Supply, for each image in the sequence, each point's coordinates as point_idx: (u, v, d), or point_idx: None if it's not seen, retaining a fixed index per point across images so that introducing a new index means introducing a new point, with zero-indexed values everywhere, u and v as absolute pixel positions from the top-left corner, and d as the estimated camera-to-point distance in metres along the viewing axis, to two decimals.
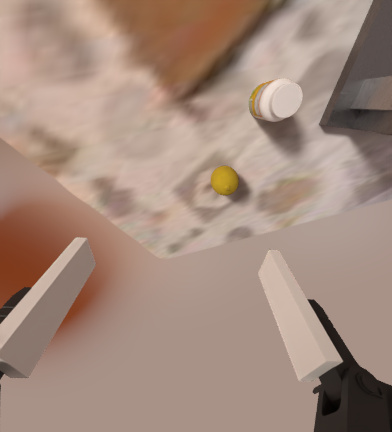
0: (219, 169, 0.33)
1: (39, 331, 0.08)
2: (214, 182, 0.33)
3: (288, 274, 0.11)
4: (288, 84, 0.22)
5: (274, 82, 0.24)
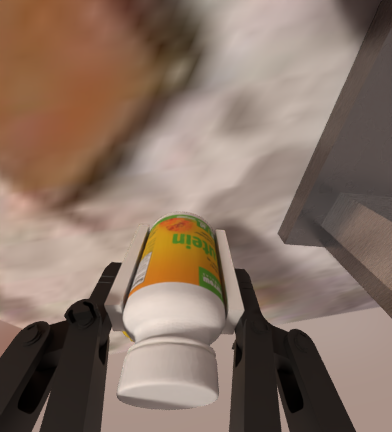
0: None
1: None
2: None
3: (225, 248, 0.12)
4: (151, 386, 0.06)
5: (141, 304, 0.08)
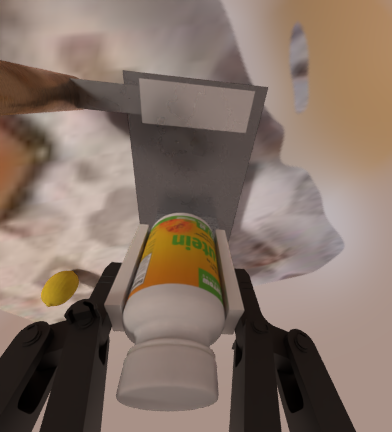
0: (48, 281, 0.34)
1: None
2: None
3: (225, 248, 0.12)
4: (151, 388, 0.06)
5: (141, 306, 0.08)
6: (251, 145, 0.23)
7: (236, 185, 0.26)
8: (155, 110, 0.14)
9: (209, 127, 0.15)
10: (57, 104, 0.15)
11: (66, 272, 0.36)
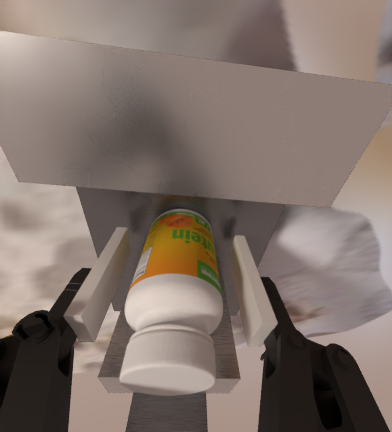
0: None
1: (100, 304, 0.10)
2: None
3: (247, 255, 0.12)
4: (152, 368, 0.06)
5: (142, 294, 0.08)
6: None
7: (257, 242, 0.16)
8: (49, 146, 0.04)
9: (226, 194, 0.05)
10: None
11: None
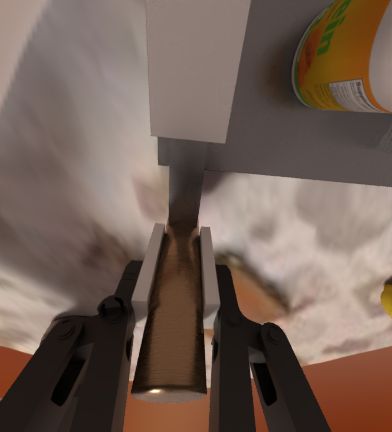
0: None
1: None
2: None
3: (208, 244, 0.12)
4: None
5: None
6: None
7: None
8: (203, 107, 0.06)
9: None
10: (193, 252, 0.12)
11: (387, 293, 0.26)
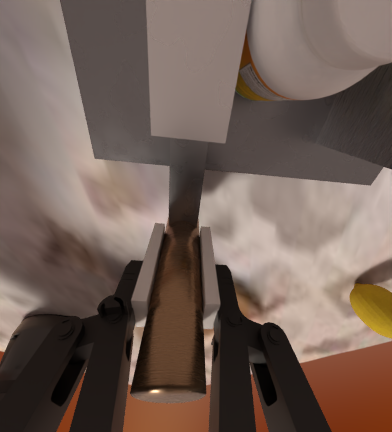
0: (359, 315, 0.25)
1: None
2: None
3: (208, 244, 0.12)
4: None
5: (262, 48, 0.06)
6: None
7: None
8: (204, 106, 0.06)
9: None
10: (193, 252, 0.12)
11: (355, 292, 0.26)
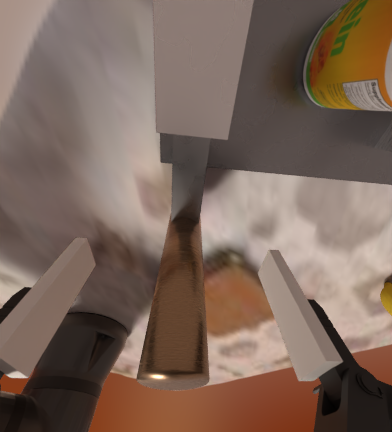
0: None
1: (39, 331, 0.08)
2: None
3: (288, 274, 0.11)
4: None
5: None
6: None
7: None
8: (207, 104, 0.07)
9: None
10: (195, 247, 0.12)
11: (387, 291, 0.26)
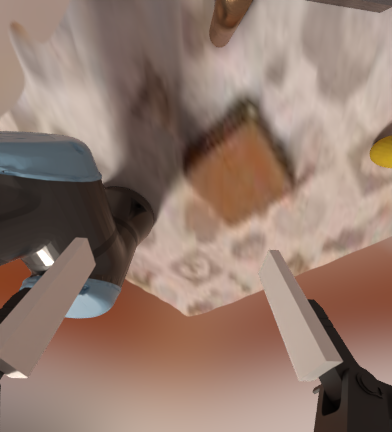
0: (378, 159, 0.31)
1: (39, 331, 0.08)
2: None
3: (288, 274, 0.11)
4: None
5: None
6: None
7: None
8: None
9: None
10: None
11: (375, 144, 0.32)
